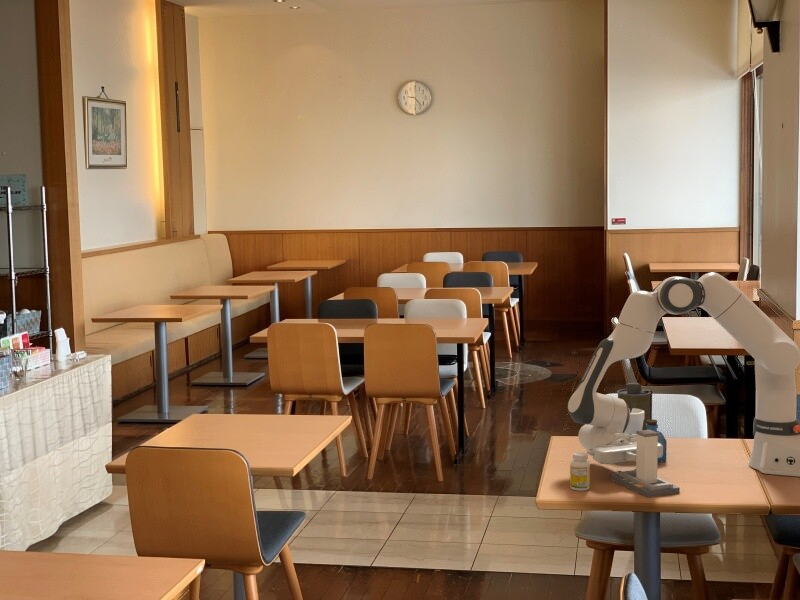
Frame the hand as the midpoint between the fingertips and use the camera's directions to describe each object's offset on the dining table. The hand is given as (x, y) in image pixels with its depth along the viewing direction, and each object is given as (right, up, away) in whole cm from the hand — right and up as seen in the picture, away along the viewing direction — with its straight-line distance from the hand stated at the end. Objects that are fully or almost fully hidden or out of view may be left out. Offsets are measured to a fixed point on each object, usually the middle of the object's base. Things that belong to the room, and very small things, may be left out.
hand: (642, 458), depth 283 cm
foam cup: (+4, -4, +37) cm, 37 cm away
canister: (+8, -3, +45) cm, 46 cm away
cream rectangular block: (+1, -6, -1) cm, 6 cm away
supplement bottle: (-17, -8, -1) cm, 19 cm away
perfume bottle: (+9, -5, +28) cm, 30 cm away
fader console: (0, -7, 0) cm, 7 cm away
